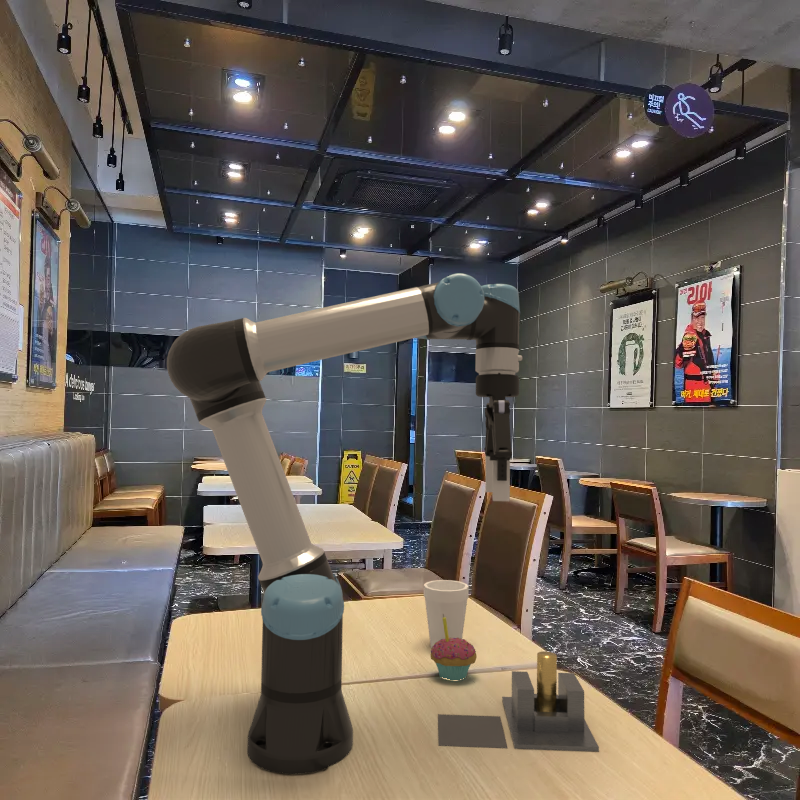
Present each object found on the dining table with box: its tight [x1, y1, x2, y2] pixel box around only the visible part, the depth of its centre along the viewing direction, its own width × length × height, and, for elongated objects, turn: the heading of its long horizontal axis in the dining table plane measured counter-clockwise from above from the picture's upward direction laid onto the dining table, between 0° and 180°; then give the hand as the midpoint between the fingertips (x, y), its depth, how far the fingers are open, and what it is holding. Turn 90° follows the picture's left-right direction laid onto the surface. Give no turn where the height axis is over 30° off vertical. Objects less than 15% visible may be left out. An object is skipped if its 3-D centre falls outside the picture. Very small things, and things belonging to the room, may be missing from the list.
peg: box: [536, 651, 558, 712], centre depth 99 cm, size 3×3×10 cm
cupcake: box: [430, 614, 477, 680], centre depth 118 cm, size 9×8×12 cm
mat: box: [437, 713, 509, 749], centre depth 96 cm, size 10×10×1 cm
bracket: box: [501, 670, 600, 753], centre depth 99 cm, size 12×16×7 cm
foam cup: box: [423, 579, 470, 648], centre depth 134 cm, size 10×9×13 cm
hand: (496, 496), depth 110 cm, fingers open, 13 cm apart
